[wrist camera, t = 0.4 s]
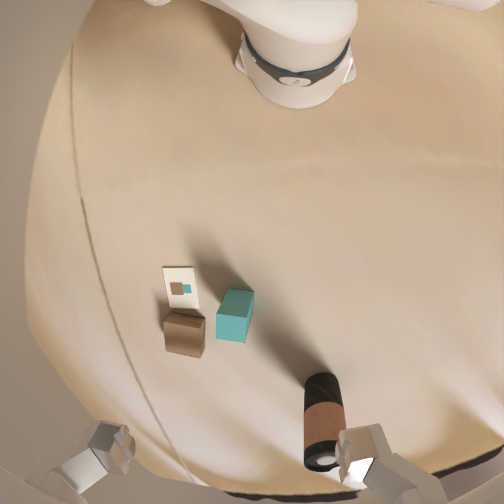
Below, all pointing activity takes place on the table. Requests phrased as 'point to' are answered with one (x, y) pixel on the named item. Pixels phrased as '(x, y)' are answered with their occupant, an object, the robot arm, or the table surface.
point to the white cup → (157, 2)
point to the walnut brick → (184, 334)
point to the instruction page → (181, 287)
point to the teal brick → (234, 315)
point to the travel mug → (322, 421)
